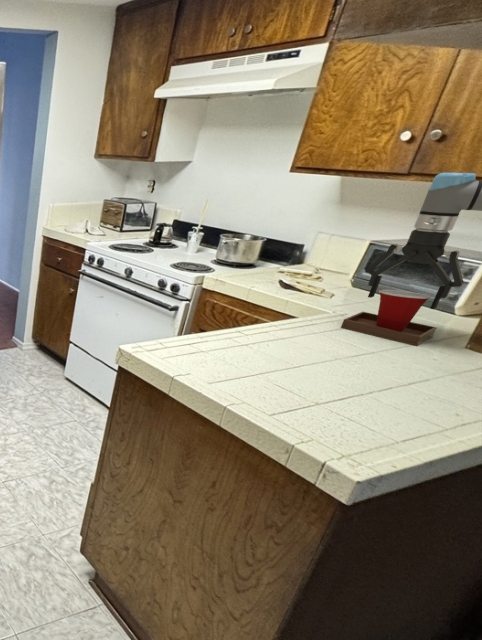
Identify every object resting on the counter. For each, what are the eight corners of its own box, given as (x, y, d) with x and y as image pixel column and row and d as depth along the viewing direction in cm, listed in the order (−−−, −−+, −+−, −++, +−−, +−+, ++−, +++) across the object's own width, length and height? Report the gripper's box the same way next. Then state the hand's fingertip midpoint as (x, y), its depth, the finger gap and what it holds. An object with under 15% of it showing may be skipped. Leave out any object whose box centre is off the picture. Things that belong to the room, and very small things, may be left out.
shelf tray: (432, 336, 141) (437, 327, 140) (416, 346, 134) (421, 337, 132) (359, 319, 155) (362, 311, 154) (340, 327, 147) (343, 319, 146)
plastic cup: (391, 324, 148) (408, 288, 144) (423, 336, 138) (442, 298, 134) (354, 322, 149) (370, 286, 145) (384, 334, 139) (401, 296, 135)
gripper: (368, 225, 140) (343, 294, 148) (496, 237, 121) (458, 315, 129) (377, 224, 144) (351, 291, 152) (502, 235, 124) (465, 311, 132)
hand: (400, 302), depth 140 cm, fingers open, 13 cm apart
